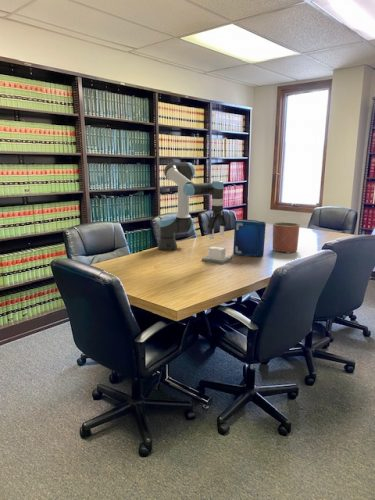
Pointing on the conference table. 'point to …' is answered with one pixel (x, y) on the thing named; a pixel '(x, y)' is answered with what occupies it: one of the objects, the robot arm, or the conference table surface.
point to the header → (216, 260)
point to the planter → (285, 236)
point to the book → (249, 238)
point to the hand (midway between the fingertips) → (216, 237)
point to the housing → (217, 253)
